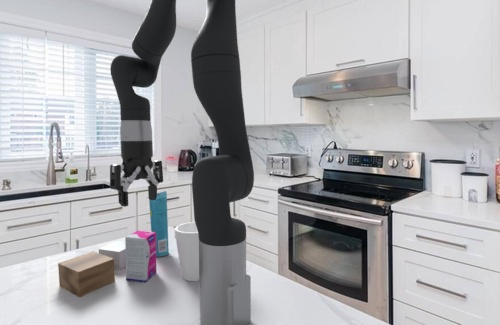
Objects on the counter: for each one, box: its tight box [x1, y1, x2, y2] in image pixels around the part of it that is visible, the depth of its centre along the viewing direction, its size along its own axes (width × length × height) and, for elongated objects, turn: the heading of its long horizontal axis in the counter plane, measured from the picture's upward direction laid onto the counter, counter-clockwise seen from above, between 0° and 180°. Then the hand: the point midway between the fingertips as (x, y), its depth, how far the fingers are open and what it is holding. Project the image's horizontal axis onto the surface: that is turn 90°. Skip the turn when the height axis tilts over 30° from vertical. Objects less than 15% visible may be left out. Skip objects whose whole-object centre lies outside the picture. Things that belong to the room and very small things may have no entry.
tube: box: [148, 190, 170, 258], centre depth 97 cm, size 7×5×19 cm, turn 160°
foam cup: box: [174, 221, 199, 282], centre depth 83 cm, size 10×9×13 cm
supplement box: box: [124, 230, 157, 283], centre depth 82 cm, size 6×6×12 cm
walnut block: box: [57, 251, 116, 298], centre depth 79 cm, size 9×9×6 cm
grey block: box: [98, 240, 126, 270], centre depth 91 cm, size 7×7×5 cm
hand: (139, 202), depth 81 cm, fingers open, 8 cm apart
